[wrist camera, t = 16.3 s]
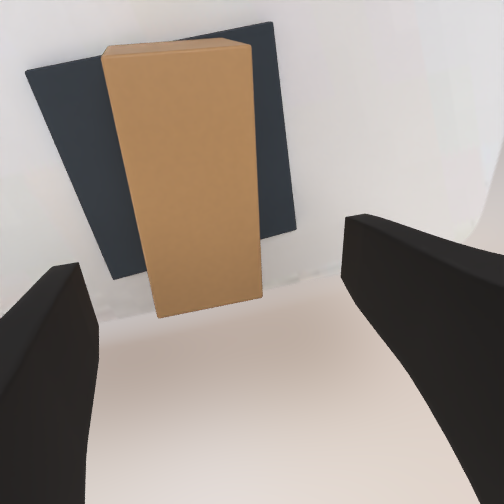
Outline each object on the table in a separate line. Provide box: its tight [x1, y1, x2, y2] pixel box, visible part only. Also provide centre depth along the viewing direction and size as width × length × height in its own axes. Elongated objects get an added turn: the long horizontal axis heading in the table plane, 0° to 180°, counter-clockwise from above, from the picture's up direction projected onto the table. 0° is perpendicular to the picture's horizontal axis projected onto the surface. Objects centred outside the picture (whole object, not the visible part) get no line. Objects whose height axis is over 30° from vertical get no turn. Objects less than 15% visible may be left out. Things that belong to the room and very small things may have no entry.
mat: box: [25, 22, 297, 280], centre depth 19 cm, size 10×10×1 cm
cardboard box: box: [101, 38, 263, 318], centre depth 17 cm, size 10×5×5 cm, turn 3°
